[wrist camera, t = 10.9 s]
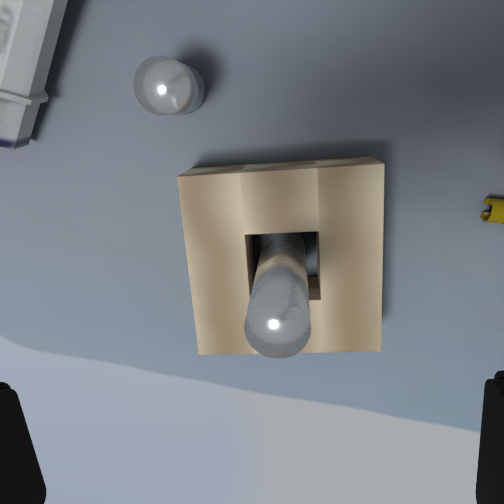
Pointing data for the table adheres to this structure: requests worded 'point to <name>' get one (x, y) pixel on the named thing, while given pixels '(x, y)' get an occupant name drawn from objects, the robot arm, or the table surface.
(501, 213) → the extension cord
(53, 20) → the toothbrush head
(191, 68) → the short pin
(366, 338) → the bored block
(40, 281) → the table surface
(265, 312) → the long pin
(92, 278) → the table surface
